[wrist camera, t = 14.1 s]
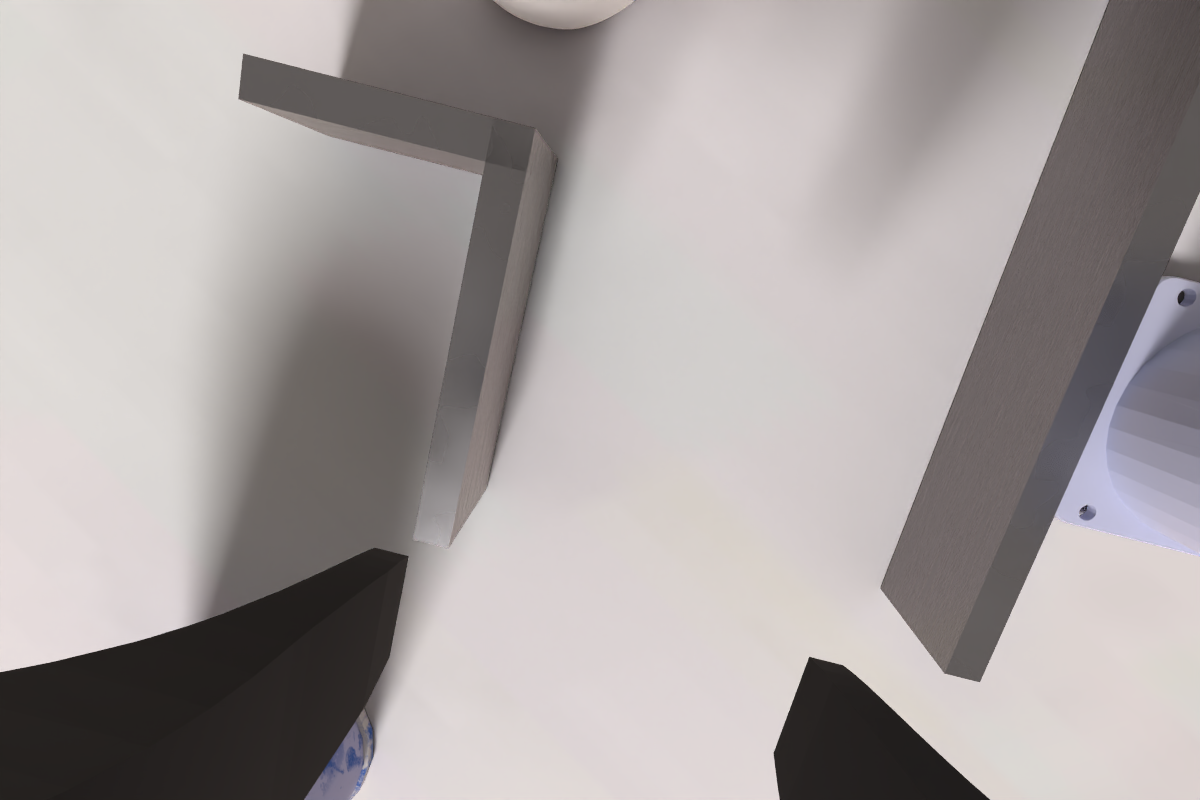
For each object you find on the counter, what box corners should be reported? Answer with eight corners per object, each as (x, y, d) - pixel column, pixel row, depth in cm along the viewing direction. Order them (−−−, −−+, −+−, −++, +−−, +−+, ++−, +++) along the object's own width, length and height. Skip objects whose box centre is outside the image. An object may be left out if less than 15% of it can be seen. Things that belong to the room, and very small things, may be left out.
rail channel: (1274, -313, 16) (1526, -537, 11) (908, 595, 21) (979, 682, 17) (420, -535, 15) (335, -851, 11) (287, 439, 21) (198, 485, 17)
